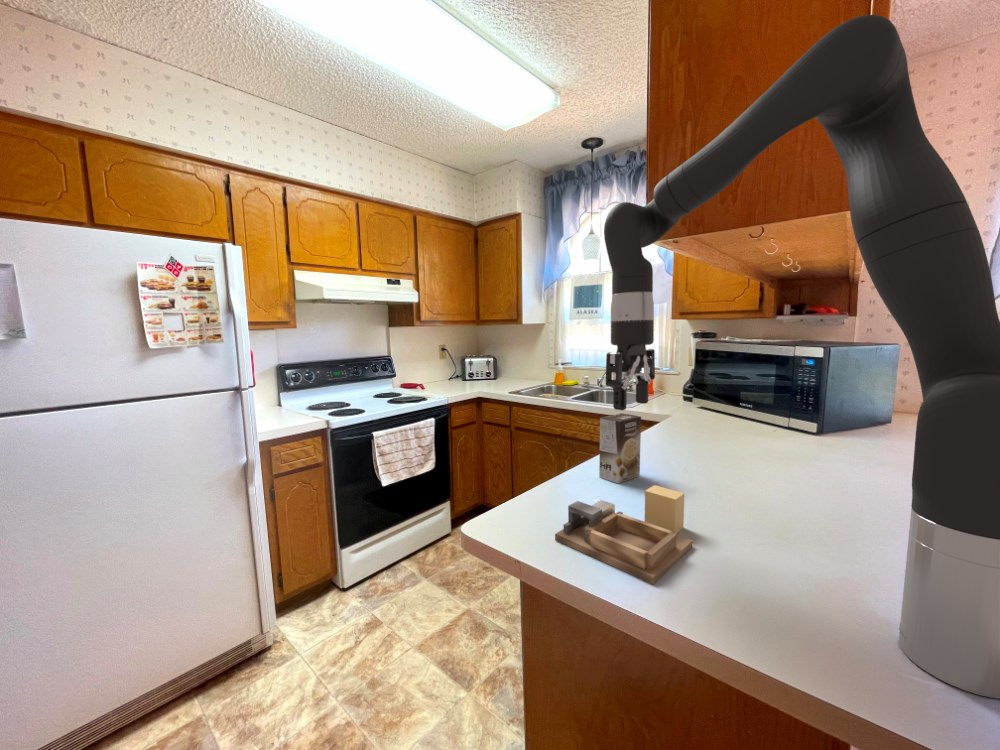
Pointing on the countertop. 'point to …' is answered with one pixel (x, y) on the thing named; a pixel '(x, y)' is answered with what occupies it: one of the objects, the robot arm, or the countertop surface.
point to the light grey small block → (604, 508)
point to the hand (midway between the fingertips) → (631, 406)
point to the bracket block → (664, 508)
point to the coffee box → (620, 447)
